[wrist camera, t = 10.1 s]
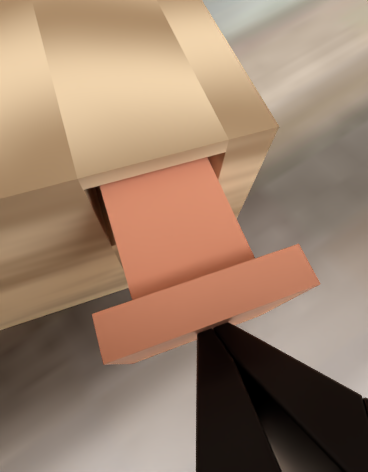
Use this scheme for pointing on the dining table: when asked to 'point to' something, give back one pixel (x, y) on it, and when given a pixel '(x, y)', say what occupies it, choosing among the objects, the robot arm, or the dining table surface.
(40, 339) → the dining table surface
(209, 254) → the terracotta plug
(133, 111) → the socket block
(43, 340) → the dining table surface
